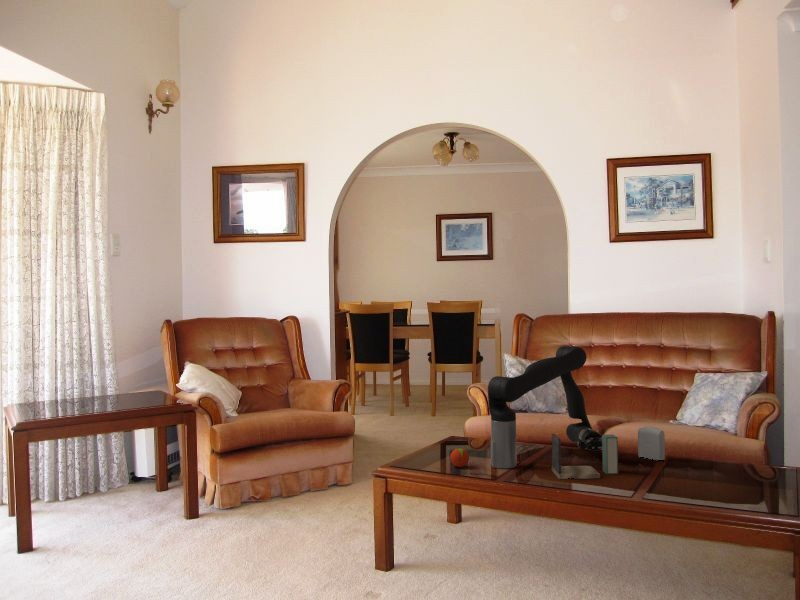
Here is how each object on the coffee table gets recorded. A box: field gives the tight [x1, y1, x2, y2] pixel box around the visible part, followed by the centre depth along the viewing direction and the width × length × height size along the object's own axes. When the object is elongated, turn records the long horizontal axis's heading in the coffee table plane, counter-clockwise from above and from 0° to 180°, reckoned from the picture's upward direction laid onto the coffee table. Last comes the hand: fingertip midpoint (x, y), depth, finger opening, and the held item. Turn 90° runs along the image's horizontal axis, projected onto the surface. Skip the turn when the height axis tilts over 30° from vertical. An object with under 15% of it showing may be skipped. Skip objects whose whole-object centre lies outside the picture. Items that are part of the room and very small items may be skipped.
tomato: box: [450, 447, 470, 468], centre depth 258 cm, size 8×7×7 cm
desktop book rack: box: [551, 433, 601, 480], centre depth 245 cm, size 14×12×14 cm
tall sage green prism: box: [601, 434, 619, 475], centre depth 247 cm, size 4×5×13 cm
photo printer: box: [637, 425, 666, 461], centre depth 267 cm, size 10×4×12 cm, turn 39°
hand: (602, 447), depth 255 cm, fingers open, 8 cm apart
